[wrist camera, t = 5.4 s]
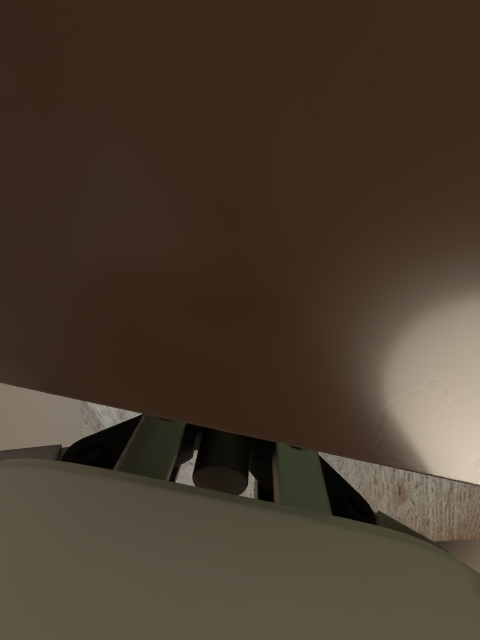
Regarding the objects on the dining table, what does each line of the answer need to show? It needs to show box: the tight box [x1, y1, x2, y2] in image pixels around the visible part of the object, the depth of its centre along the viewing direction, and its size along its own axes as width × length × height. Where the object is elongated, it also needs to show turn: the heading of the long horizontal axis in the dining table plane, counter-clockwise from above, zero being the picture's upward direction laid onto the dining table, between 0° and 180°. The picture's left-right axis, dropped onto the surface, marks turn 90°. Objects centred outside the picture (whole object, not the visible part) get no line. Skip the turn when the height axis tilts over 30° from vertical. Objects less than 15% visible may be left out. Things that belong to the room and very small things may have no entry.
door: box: [192, 427, 250, 495], centre depth 10 cm, size 9×6×12 cm
